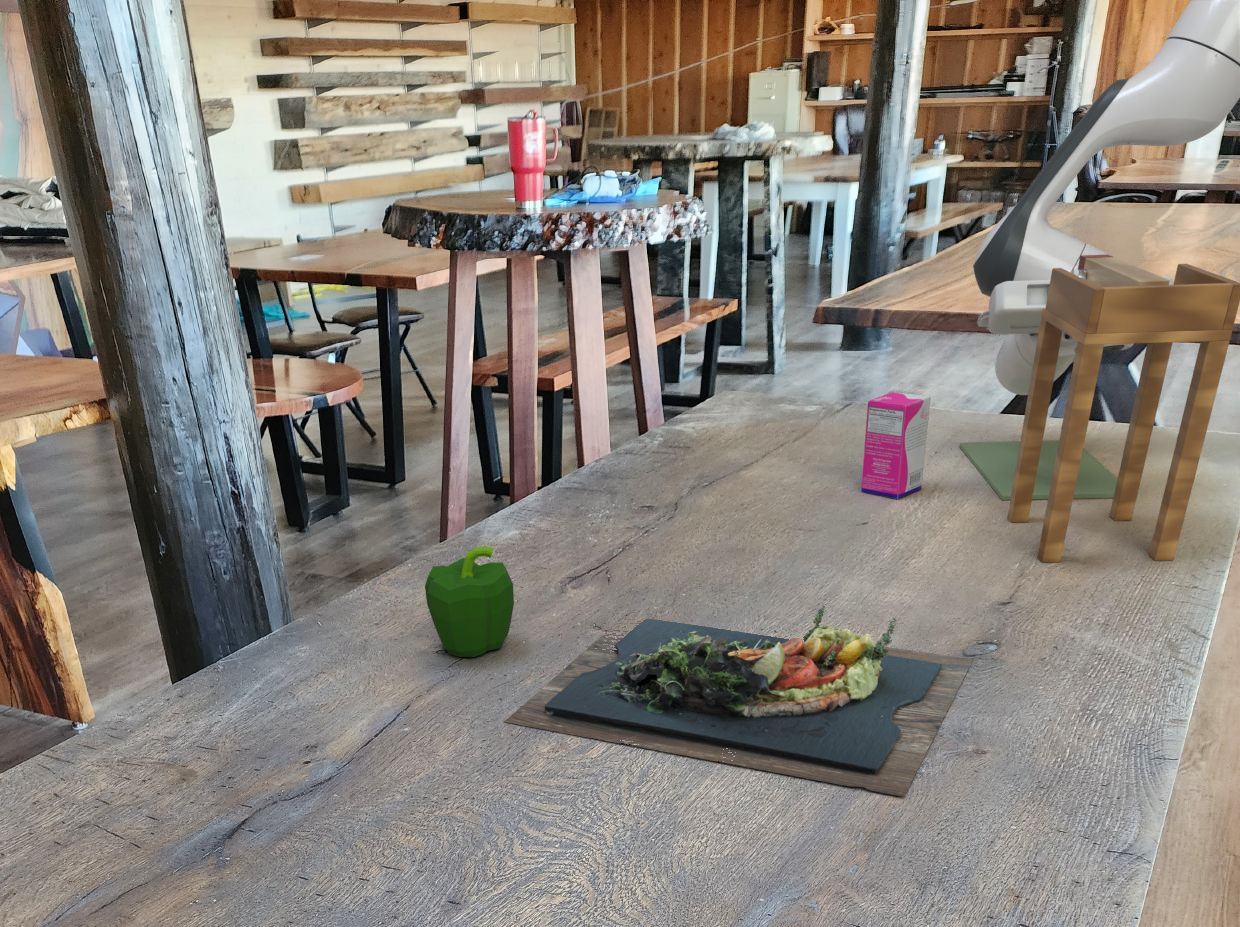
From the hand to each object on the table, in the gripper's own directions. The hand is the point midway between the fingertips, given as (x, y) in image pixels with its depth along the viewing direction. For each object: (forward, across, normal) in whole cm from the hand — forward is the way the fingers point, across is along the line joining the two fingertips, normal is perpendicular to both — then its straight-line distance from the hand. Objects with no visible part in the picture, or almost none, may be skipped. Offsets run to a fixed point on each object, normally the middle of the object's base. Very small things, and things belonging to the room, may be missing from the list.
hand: (1101, 274), depth 130 cm
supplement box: (-20, -19, +18) cm, 33 cm away
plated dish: (+32, -41, +48) cm, 71 cm away
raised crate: (-2, 0, +28) cm, 28 cm away
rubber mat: (-26, +2, +14) cm, 30 cm away
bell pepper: (+24, -67, +43) cm, 83 cm away
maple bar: (+4, 0, +5) cm, 7 cm away
